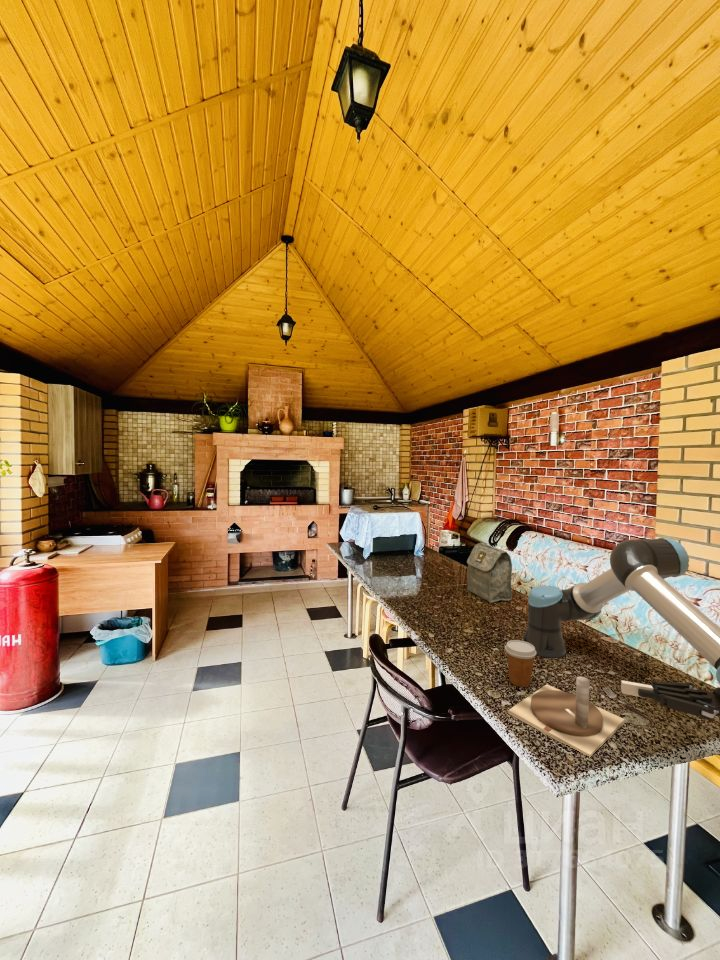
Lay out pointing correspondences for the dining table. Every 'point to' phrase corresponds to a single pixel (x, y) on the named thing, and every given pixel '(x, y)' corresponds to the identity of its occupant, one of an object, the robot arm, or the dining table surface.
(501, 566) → the bag
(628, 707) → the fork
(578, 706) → the dial
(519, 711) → the dial base
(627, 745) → the dining table surface
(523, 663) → the disposable coffee cup
